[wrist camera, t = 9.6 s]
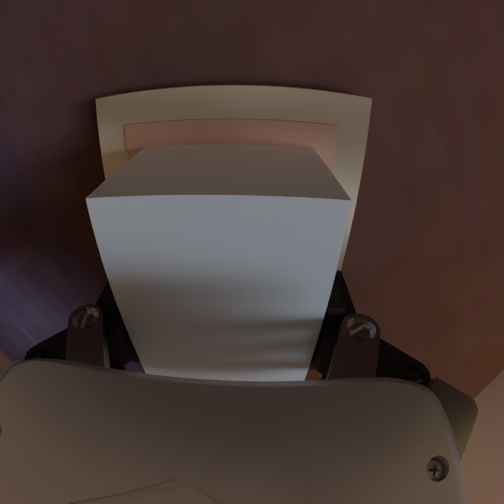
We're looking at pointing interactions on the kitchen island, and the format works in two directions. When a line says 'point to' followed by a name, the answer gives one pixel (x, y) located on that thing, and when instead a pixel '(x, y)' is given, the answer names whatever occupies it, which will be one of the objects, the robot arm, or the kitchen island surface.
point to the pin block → (240, 125)
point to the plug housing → (222, 256)
